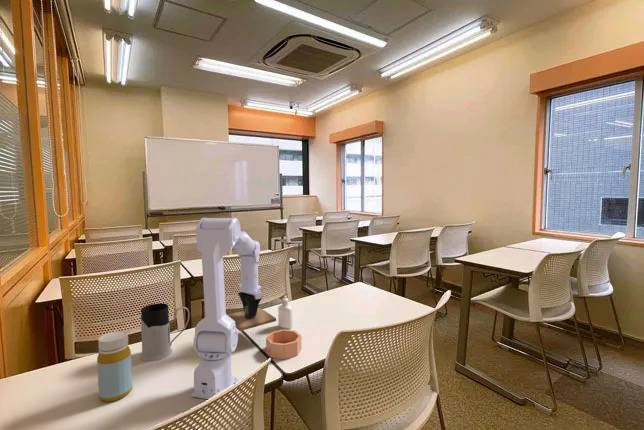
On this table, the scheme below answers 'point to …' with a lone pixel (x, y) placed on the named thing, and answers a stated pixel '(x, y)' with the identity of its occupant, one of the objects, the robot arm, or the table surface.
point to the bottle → (114, 366)
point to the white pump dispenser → (285, 315)
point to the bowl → (283, 344)
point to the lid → (251, 319)
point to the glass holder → (156, 331)
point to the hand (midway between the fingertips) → (250, 314)
